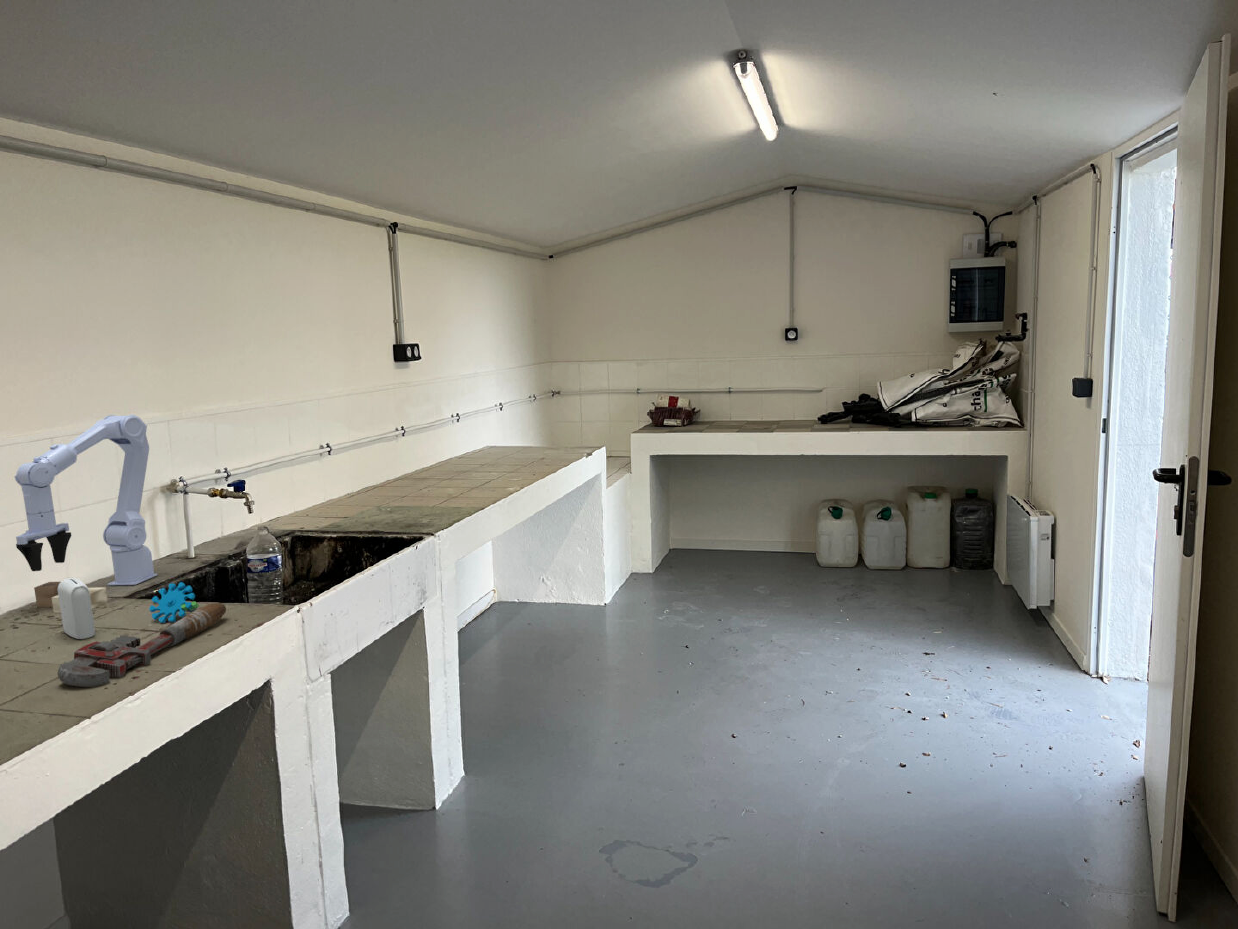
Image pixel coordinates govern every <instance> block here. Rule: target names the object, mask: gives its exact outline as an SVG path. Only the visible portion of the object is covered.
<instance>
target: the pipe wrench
mask: <svg viewBox="0 0 1238 929" xmlns="http://www.w3.org/2000/svg"><path fill="white" fill-rule="evenodd" d="M226 611H227V608H226V606H225V604H223V603H221V602H218V603H209V604H207V605H203V606H202V607H200V608H199V607H198V608H197V610H196V611H194V612H192V613H191V612H190V613H188V614H186V615H185V616H183V617H181V619H179V620H176V621H175V622H173V624H171V625H170V626H167V627H166V628H164V629H162V630H160V632H159V633H158V635H157V636H156V637H154V638H153V639H150V640H149V641H147V642H145V643H143V644H142V645H141V637H135V636H131V635H130V636H129V635H124V634H120V635H119V636H118V637H115V639H114V638H113V639H111V640H110V641H109V640H108V641H107V640H103V641H97V640H96V641H94V642H91V643H90V642H89V643H87V644H86V645H83V646H81V647H80V648H78V649H76V650H75V651H74V652H73V653H74V654H73V659H71V660H69V661H68V662H67V661H64V662H62V663H61V664H60V665H59V667H58V670H57V676H58V679H59V681H60V682H62V683H63V684H65V685H69V686H73V687H81V688H90V687H91V688H92V687H98V686H102V685H106V684H108V683H109V682H110V678H113V679H114V678H115V679H119V678H122V677H123V676H125V675H126V671H127V670H129V669H130V668H132V667H133V666H135V667H136V666H139V667H140V666H141V667H143V666H148V665H149V664H151V655H153V654H156V653H157V652H159V651H160V650H162V649H164V648H166V647H168V648H169V647H174V646H175V645H177V644H179V643H180V642H182V641H184V640H187V639H188V638H191V637H193V636H195V635H197V634H199V633H201V632H203V631H204V630H207V629H208V628H210V627H212V626H214V625H215V624H216V623H218V622H219V621H220V620H221V619H222V618H223V617H224V615H225V614H226Z"/></svg>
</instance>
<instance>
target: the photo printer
mask: <svg viewBox="0 0 1238 929" xmlns="http://www.w3.org/2000/svg"><path fill="white" fill-rule="evenodd" d="M59 582H60V584H59V586H58V597H59V603H60V610H61V613H60V615H61V616H60V617H61V622H62V628H63V632H64V633H65V634H66V635H68V636H70V637H72V638H74V639H76V640H78V639H79V640H84V639H89V638H91V637H94V635H96V627H95V621H94V614H93V609H92V606H91V600H90V593H89V589H88V588H89V587H88V586H87V585H86V584H85V583H84V582H83V581H82V580H80V579H79V578H77V577H69V578H65V579H62V581H59Z"/></svg>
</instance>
